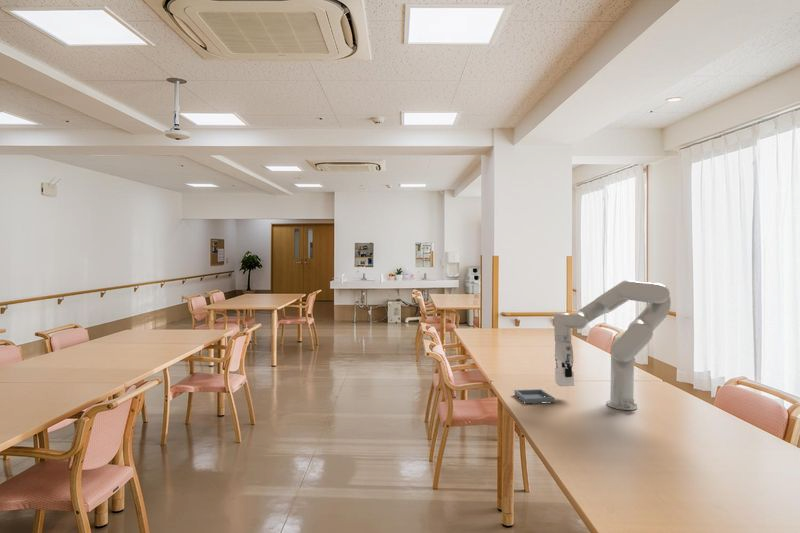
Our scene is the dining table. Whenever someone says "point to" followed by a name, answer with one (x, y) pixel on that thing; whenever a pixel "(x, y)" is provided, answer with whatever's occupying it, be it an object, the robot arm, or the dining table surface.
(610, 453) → the dining table surface
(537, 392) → the tray
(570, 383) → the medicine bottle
